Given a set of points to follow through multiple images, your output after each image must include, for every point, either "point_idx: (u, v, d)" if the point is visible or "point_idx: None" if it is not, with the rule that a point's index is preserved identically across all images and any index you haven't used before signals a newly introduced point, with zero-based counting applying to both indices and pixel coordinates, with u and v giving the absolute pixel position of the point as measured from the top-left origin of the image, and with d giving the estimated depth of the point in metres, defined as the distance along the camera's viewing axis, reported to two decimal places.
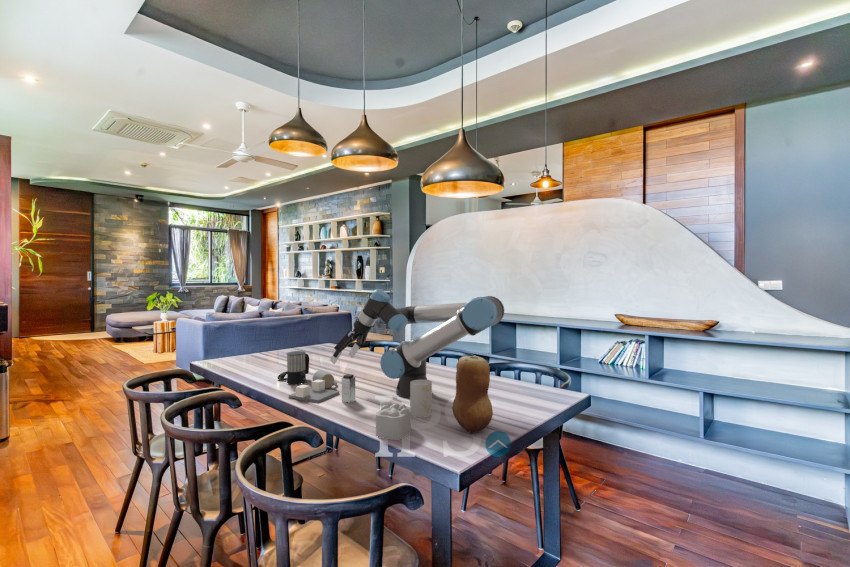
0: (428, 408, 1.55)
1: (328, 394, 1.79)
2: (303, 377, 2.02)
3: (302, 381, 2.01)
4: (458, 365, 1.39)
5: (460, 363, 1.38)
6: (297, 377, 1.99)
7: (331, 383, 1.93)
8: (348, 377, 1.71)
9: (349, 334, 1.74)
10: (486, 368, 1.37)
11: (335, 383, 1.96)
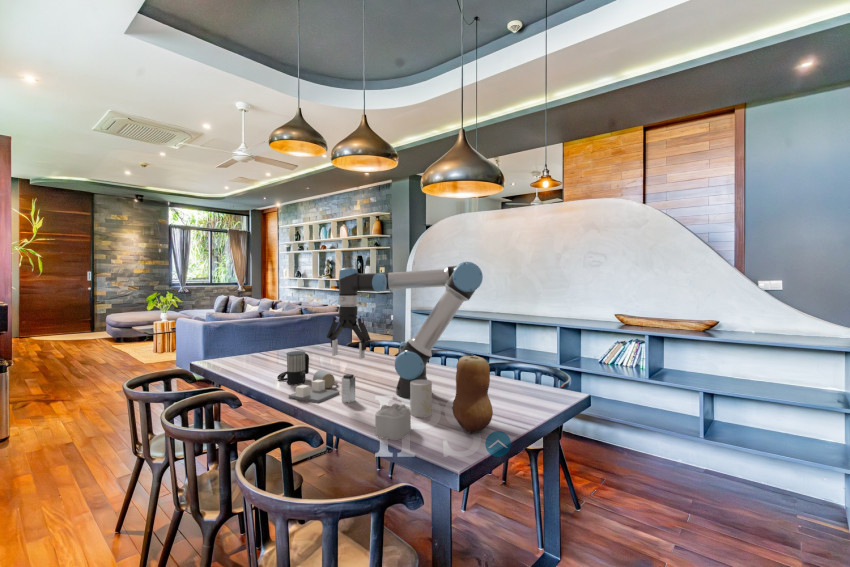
0: (428, 408, 1.55)
1: (328, 394, 1.79)
2: (303, 377, 2.02)
3: (302, 381, 2.01)
4: (458, 365, 1.39)
5: (460, 363, 1.38)
6: (296, 377, 1.99)
7: (331, 383, 1.93)
8: (348, 377, 1.71)
9: (362, 320, 1.70)
10: (486, 368, 1.37)
11: (335, 383, 1.96)
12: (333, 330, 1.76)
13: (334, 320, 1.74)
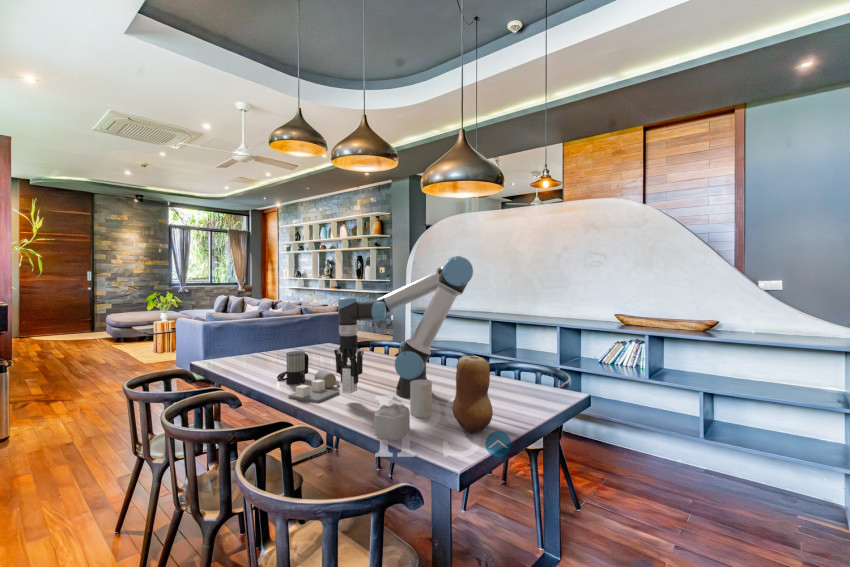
0: (428, 408, 1.55)
1: (328, 394, 1.79)
2: (303, 377, 2.02)
3: (301, 381, 2.01)
4: (458, 365, 1.39)
5: (460, 363, 1.38)
6: (296, 377, 1.99)
7: (333, 383, 1.93)
8: (349, 367, 1.71)
9: (361, 354, 1.70)
10: (486, 368, 1.37)
11: (337, 383, 1.96)
12: (340, 363, 1.75)
13: (336, 353, 1.74)
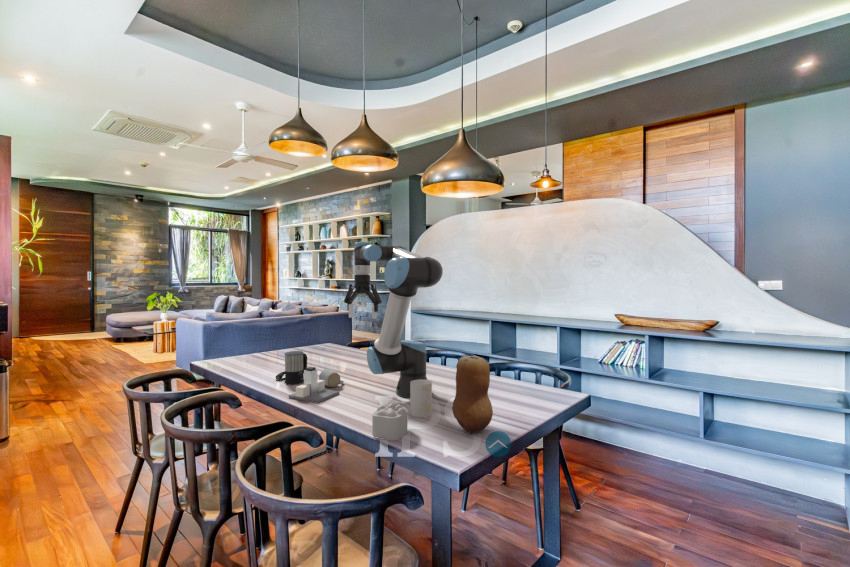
0: (428, 408, 1.55)
1: (328, 394, 1.79)
2: (301, 377, 2.02)
3: (300, 381, 2.01)
4: (458, 365, 1.39)
5: (460, 363, 1.38)
6: (294, 376, 1.99)
7: (337, 382, 1.95)
8: (310, 369, 1.80)
9: (374, 286, 1.98)
10: (486, 368, 1.37)
11: (341, 382, 1.98)
12: (349, 296, 2.04)
13: (350, 287, 2.03)
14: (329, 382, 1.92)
